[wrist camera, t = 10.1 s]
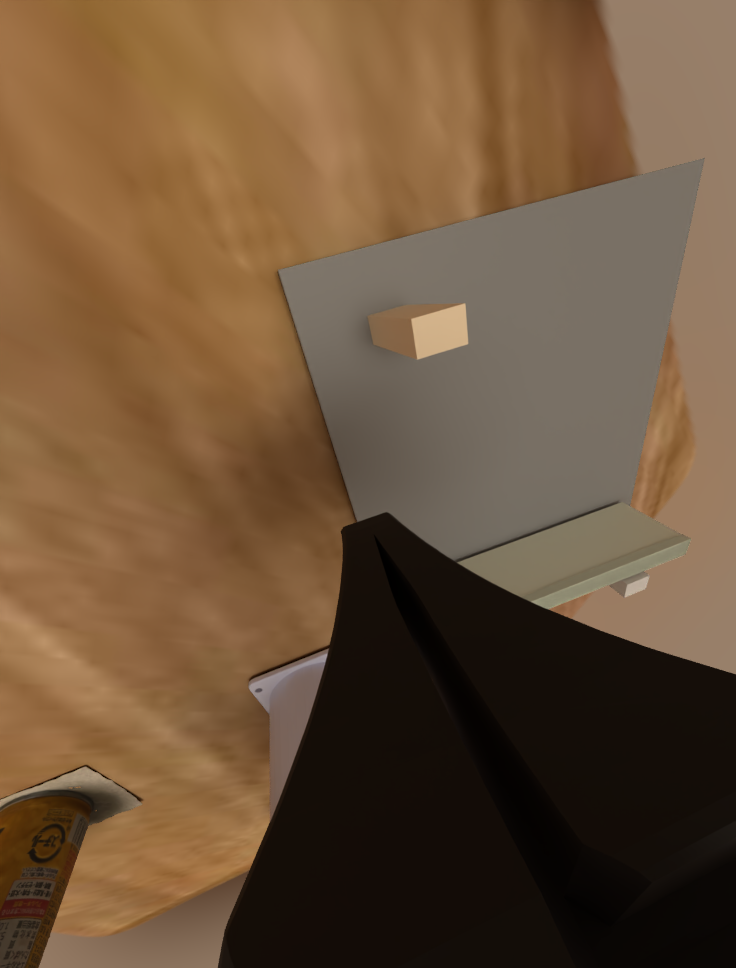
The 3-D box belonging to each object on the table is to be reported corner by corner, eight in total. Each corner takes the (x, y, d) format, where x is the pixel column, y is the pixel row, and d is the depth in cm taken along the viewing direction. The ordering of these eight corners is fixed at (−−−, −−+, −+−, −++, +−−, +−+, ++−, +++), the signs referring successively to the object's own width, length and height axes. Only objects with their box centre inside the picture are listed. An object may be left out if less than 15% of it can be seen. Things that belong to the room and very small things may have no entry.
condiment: (-41, 814, 23) (-289, 1222, 13) (86, 763, 24) (-50, 1105, 14) (37, 844, 27) (-107, 1179, 16) (144, 798, 28) (70, 1089, 17)
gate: (430, 585, 23) (464, 642, 19) (428, 572, 22) (463, 628, 18) (619, 515, 25) (685, 554, 21) (622, 501, 24) (691, 538, 20)
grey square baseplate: (616, 522, 27) (698, 572, 22) (385, 613, 25) (416, 692, 20) (685, 164, 16) (886, 95, 11) (277, 272, 14) (283, 249, 8)
